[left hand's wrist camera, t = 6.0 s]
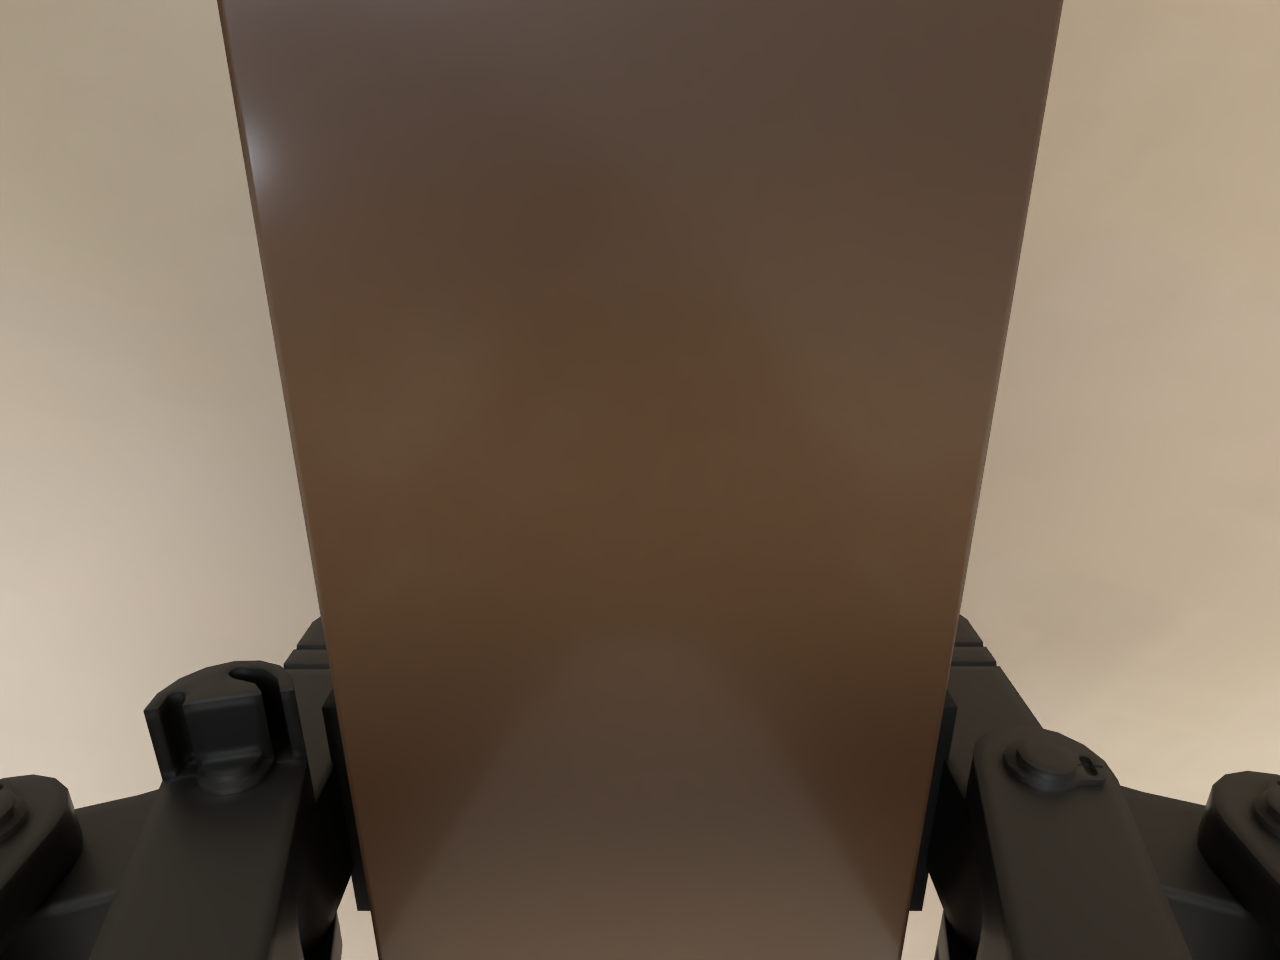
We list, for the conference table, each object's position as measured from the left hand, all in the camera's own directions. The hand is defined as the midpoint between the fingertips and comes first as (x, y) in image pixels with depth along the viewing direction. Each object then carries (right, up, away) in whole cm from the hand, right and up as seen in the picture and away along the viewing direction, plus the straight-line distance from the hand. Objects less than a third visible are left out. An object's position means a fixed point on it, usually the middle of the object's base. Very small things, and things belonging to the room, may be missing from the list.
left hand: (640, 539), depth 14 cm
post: (0, +32, -12) cm, 35 cm away
